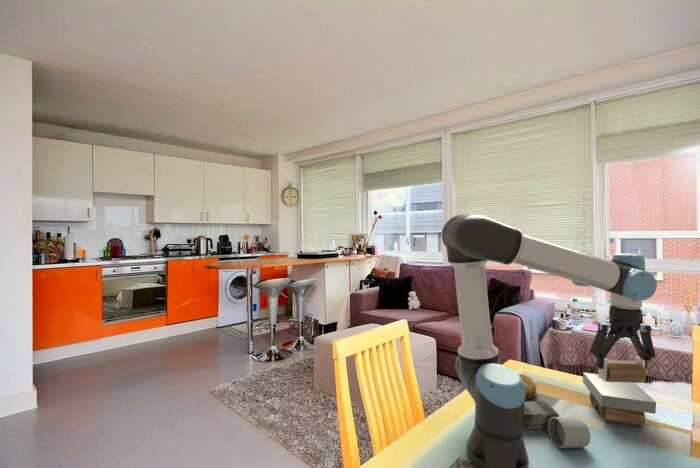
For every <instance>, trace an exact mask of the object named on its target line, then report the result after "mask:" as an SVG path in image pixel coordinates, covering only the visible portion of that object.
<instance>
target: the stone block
mask: <svg viewBox="0 0 700 468" xmlns="http://www.w3.org/2000/svg"><path fill="white" fill-rule="evenodd" d="M552 417H560V415H559V412H557V411H556V410H555V409H554V408H553V407H552V406H550V404H549V403H548V402H546V401H544V400H540V401H539V400H538V401H537V400H536V401H534V400H533V401H532V400H531V401H525V402H524V418H523V430H536V429H537V430H548V421H549V419H550V418H552Z"/></svg>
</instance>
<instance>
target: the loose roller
mask: <svg viewBox="0 0 700 468" xmlns="http://www.w3.org/2000/svg"><path fill="white" fill-rule="evenodd" d="M597 371H598V368H597ZM646 374H647V372H646V370H645V369H644V367H643V365H642V364H641V363H639V362H637V361H635V360H622V359H621V360H617V359H616V360H614V359H608V366H607V381H606V382H635V383H638V384H639V383H643V382H642V381H644V382H645V380H646Z"/></svg>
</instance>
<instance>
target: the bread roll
mask: <svg viewBox="0 0 700 468" xmlns="http://www.w3.org/2000/svg"><path fill="white" fill-rule="evenodd" d="M518 374H519V375H520V376H521V377H522V379H523V381H524V384H525V400H529V399H533V397H534V395H536V391H537V385H536V384H535V381H534V379H532V377H530V376H528V375H525V374H522V373H521V374H520V373H518Z"/></svg>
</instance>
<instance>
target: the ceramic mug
mask: <svg viewBox="0 0 700 468" xmlns="http://www.w3.org/2000/svg"><path fill="white" fill-rule="evenodd" d="M589 430H590V429H589V428H588V426H587V424H586V423H585V422H583V420H581V419H578V418H574V417H560V416H559V417H552V418H550V419H549V421H548V429H547V432H548V437H549V438H550V441H551V442H552V443H553V445H554V446H555V447H557V448H559V449H570V448H571V449H575V448H577V449H578V448H585V447H587V446H589V445H590V442H591V432H590V431H589Z"/></svg>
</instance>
